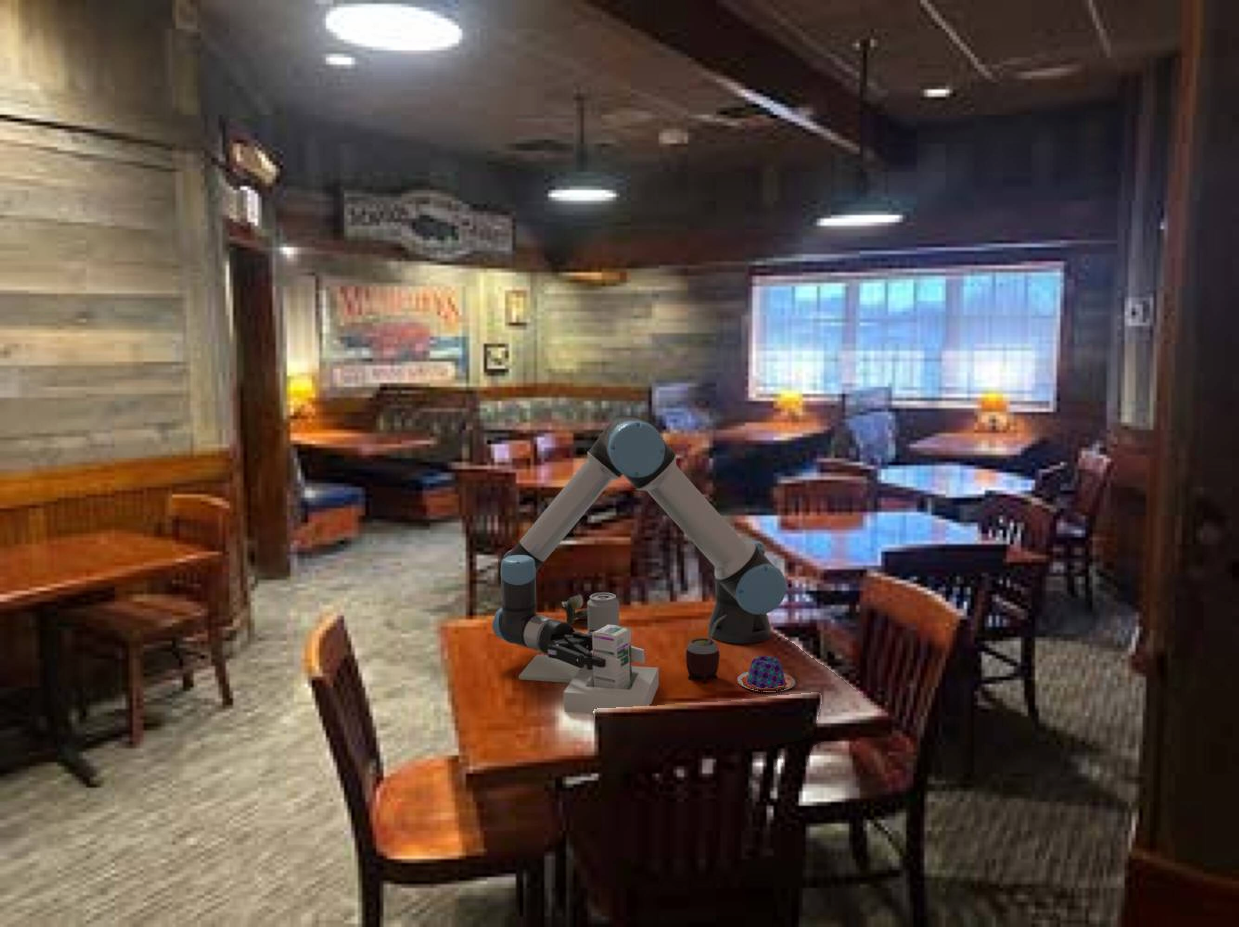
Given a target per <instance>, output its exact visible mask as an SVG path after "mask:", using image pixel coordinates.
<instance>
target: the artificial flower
mask: <svg viewBox="0 0 1239 927" xmlns="http://www.w3.org/2000/svg"><path fill="white" fill-rule="evenodd" d="M561 605H562V608H563V609H564V611H565V614H566V623H568V624H570V625H571V626H573V625H574V623H575V622H576V619H578V620H588V611H587V608H586V609H585V608H584V609H581V608H582V606H583V605H584V599H583V596H582V595H581V594H578V595H575V596H571V597H568V600H566V601H561ZM576 610H579V611H576Z"/></svg>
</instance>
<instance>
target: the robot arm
mask: <svg viewBox="0 0 1239 927" xmlns="http://www.w3.org/2000/svg"><path fill="white" fill-rule="evenodd" d="M586 453H587V459H586V460H585V462H583V464H582V466H581V467H580V468H578V469H577V471H576V472H575V474H574V475H573V476H572V477H571V479H570V480H569V481H568V482H567V484H565V486H564V487H563V488H562V489H561V491H560V492H558V494H557V495H556V496H555V497H554V499H553V500H552V502H550V503H549V505H548V506H547V508H546V509H545V510H544V511H543V512H542V513H541V515H540V516H539V517H538V518H537V519H536V521H535V522H534V523H533V524H532V525H531V527H530V528H529V529H528V530H527V532H526V533H525V534H524V535H523V536H522V537H521V539H520V540H519V541H518V543H516V545H515V546H514V547H513V548H512V549H511V550H509V551H507V552H506V553H505V555H504V556H503V558H502V559H501V563H500V581H501V582H500V584H501V585H500V586H501V602H502V605H501V608H500V607H499V609H498V610H497V611H496V612H495V614H494V618H493V620H492V622H491V623H492V630H493V632H494V634H495V636H496V637H497V638H499V639H500V640H503V641H505V642H507V643H509V644H513V645H518V646H521V647H524V648H526V649H530V650H533V651H536V652H539V653H540V654H544V655H548V657H549V658H555V659H558V660H561V661H563V662H566V663H568V664H571V665H573V666H576V667H578V668H583V667H584V665H587V670H592V669H593V665H594V666H596V667H599V668H602V669H605V670H608V671H611V672H614V673H617V674H619V673H621V659H618V658H615V657H611V656H608V655H605V654H602V653H599V652H595V653H594V656H593V642H592V633H593V632H595V631H596V630H593V629H592V630H590V634H588V633H583V632H581V631H575V630H574V628H573V625H570V624H568V623H566V622H567V621H566V622H565V621H563V620H559V619H555V618H553V617H548V616H545V615H541V614H538V613H537V584H536V582H537V581H536V578H537V571H538V570H539V569H540V567H541V566H543V564H544V563H545V561H546V560H547V559H548V558H549V557H550V555H551V554H552V553H553V552H554V551H555V549H556V548H557V547H558V546H559V545H560V543H561V542H562V541H563V540H564V538H566V536H567V535H568V534H569V533H570V531H571V530H572V529H573V528H574V527H575V525H576V524H577V523H578V522H579V521H580V519H581V518H582V517H583V516H584V515H585V513H586V512H587V511H588V510H589V509H590V508H591V506H592V505H593V504H594V503H595V501H596V500H598V498H599V497H600V495H601V494H602V493H603V492H604V491H605V489H606V488H607V487H608V486H609V485H610V483H611V482H613V480H619V479H620V478H621V477H622V476H624V477H625V479H626V480H627V481H628V482H629V483H630V484H631V485H632V486H633V488H635V490H637V491H646V492H647V493H648V494H649V495H650V496H651V497H652V498H653V500H655V502H656V503H657V504H658V505H659V506H660V507H661V509H662V510H664V512H665V513H666V514H667V515H668V516H669V518H671V519H672V521H673V522H675V524H676V525H677V526H678V527H679V529H680V530H681V531H682V532H683V533H684V534H685V535H686V536H687V537H688V538H689V540H690V541H691V542H692V543H693V544H694V545H695V546H696V547H697V548H698V550H699V551H700V552H701V553H702V554H703V555H704V556H705V558H706V559H707V560H708V561H709V562H710V563H711V564H712V565H713V566H714V577H715V601H714V602H715V603H714V605H713V609H712V612H711V615H710V618H709V621H708V627H707V631H708V635H709V636H710V633H711V630H712V626H713V624H714V622H715V621H716V620H718V619H719V618H721V617H723V616H725V615H727V616H726V617H724V618H723V619H722V620H720V621H719V622H718V623H717V626H716V628H715V630H714V632H713V635H712V638H711V639H714V640H716V641H719V642H723V643H729V644H737V645H738V644H739V645H740V644H741V645H743V644H745V645H746V644H757V643H761V642H763V641H766V640H768V639H770V637H771V636H772V635H771V634H772V633H771V632H772V631H771V622H770V619H769V616H768V614H769V613H771V612H773V611H774V610H776V609H777V608H778V607H780V605H781V604H782V603H783V600H784V599H785V597H786V593H787V580H786V579H785V576H784V573H783V572H782V571H781V569H780V568H778V567H777V566H775V565H774V564H773V563H772V562H771V561H770V559H768V557H767V556H766V555H765V553H766V550H765V544H764V543H763V542H762V541H756V540H743V539H742V538H741V536H739V535H738V534H737V533H736V531H735V530H734V529H733V528H732V527H731V526H730V524H729V523H728V522H727V521H726V520H725V519H724V517H722V516H721V514H720V512H718V511H717V510H716V509H715V508H714V506H713V505H712V504H711V503H710V502H709V501H708V500H707V498H706V497H705V496H704V495H703V494H702V493H701V492H700V490H698V488H697V487H696V486H695V485H694V484H693V483H692V481H691V480H690V479H689V478H688V477H687V475H685V474H684V472H683V471H682V470H681V469H680V467H679V466H678V465H677V463H676V462H677V454H676V453H675V451H674V450H673V449H672V448H671V447H670V446H669V445H668V444H667V443H666V441H665V439H663V437H662V434H661V433H660V432H659V431H658V429H657V428H656V427H655V426H653V425H652V424H651V423H649V422H647V421H644V420H642V419H641V418H639V417H637V416H632V415H623V416H620V417H617V418H615V419H613V420H612V421H611V422H610V423H608V425H607V426H606V427H605V428H604V429H603V432H602V433H601V434H600V435H599V437H598V438H597V440H596V441H595V442H594V444H593V445H592V446H591V447H590V449H589V450H588V451H587V452H586ZM577 659H578V661H577ZM631 662H636V663H639V664H645V649H643V648H640V647H636V646H633V645H631Z"/></svg>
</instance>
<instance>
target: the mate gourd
mask: <svg viewBox="0 0 1239 927" xmlns="http://www.w3.org/2000/svg"><path fill="white" fill-rule="evenodd" d="M726 616H727V615H725V616H723V617H721V618H719V619H718V620H716V621H715V622H714V624H713V626H712V630H711V633H710V635H709V636H708V638H705V637H704V638H703V637H701V638H699V637H698V638H694V639H692V640H691V641H690V642H689V643H688V645H687V647H686V651H685V663H686V669H687V672H688V676H687V678H688V680H701V682H702V683H703V684H704V685H705V684H708V681H707V679H709V678H712V679H717V678H718V675H717V673H718V669H719V664H720V663H719V662H720V657H721V656H720V651H719V647H718V645H717V643H716V642H715V640H713V638H712V635H713V632H714V630H715V628H716V626H717V623H718V622H719V621H720V620H722V619H723V618H724V617H726Z"/></svg>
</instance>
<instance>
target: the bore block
mask: <svg viewBox="0 0 1239 927" xmlns="http://www.w3.org/2000/svg"><path fill="white" fill-rule="evenodd" d="M658 689H659V667H650V666H636V665H632V687H631V689H630V690H626V689H612V688H598V687H594V672H593V669H592V670H587V665H584V667H583V668H580V669H579V671H578V672H577V674H576V675H575V677H574V678H573V679H572V681H571V682H570V683H569V684H568V685H567V687H566V688H565V690H563V712H564V713H574V714H589V715H594V714H593V711H594V709H597V708H616V707H633V706H647V705H650V704H651V705H652V702H653V700H654V698H655V697H656V696H655V695H656V694H657V691H658ZM651 705H650V706H651Z"/></svg>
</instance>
